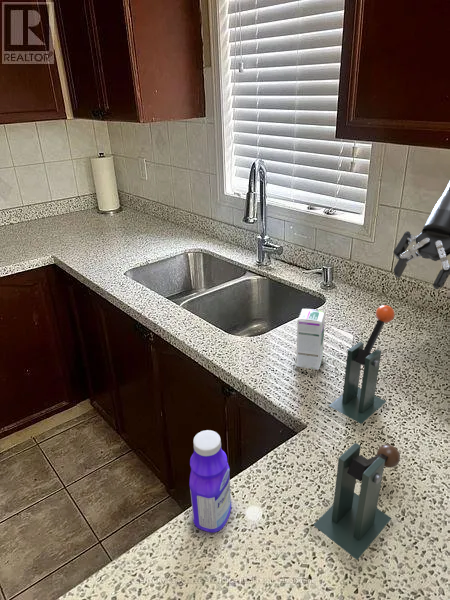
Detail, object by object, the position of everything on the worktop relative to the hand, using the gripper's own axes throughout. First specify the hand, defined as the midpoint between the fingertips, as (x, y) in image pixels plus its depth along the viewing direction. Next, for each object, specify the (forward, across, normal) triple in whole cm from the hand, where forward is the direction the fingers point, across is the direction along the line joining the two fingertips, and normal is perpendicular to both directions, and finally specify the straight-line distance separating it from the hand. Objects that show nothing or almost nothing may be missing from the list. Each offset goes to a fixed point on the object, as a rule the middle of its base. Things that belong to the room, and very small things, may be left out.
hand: (415, 281), depth 95 cm
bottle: (+58, -3, -23) cm, 62 cm away
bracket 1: (+29, -1, +6) cm, 30 cm away
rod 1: (+15, -1, -2) cm, 15 cm away
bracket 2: (+47, +14, -12) cm, 51 cm away
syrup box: (+26, -18, +9) cm, 33 cm away
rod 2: (+38, +14, -16) cm, 44 cm away
